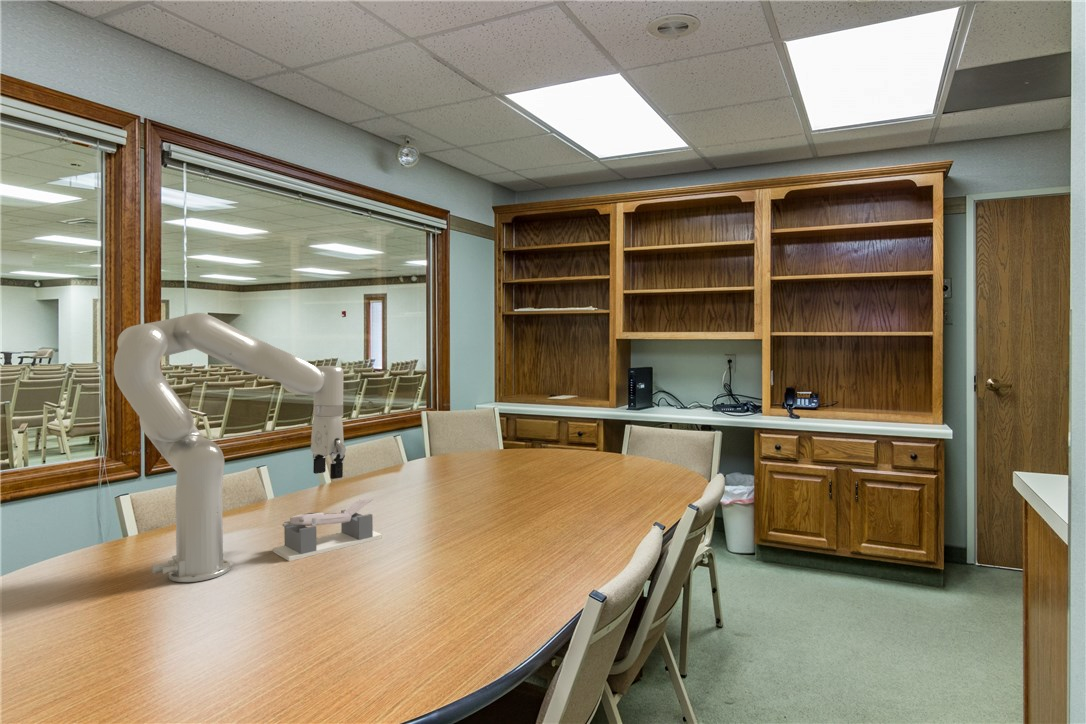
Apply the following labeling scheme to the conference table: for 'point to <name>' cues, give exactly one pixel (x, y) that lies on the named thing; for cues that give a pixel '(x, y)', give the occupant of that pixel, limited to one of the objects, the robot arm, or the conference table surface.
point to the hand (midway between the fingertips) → (327, 475)
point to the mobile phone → (327, 516)
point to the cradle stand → (325, 538)
